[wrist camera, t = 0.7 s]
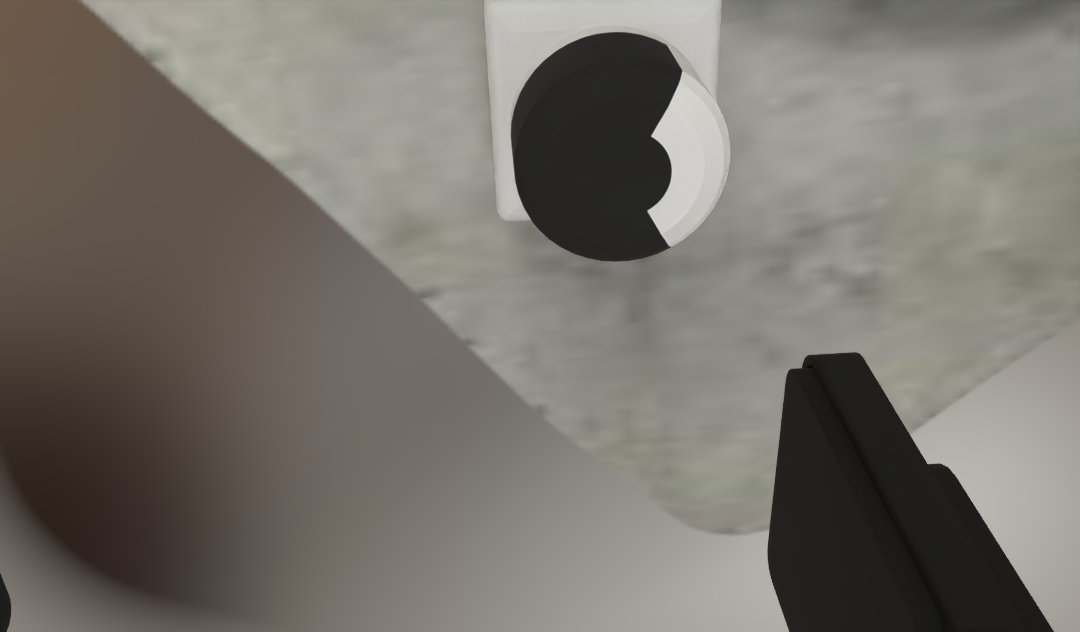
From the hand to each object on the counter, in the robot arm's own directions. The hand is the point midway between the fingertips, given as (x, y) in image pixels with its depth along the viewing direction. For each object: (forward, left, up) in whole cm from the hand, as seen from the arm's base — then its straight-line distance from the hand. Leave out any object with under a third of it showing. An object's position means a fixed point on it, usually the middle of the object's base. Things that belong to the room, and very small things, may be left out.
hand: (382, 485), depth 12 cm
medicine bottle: (-1, +6, -29) cm, 30 cm away
